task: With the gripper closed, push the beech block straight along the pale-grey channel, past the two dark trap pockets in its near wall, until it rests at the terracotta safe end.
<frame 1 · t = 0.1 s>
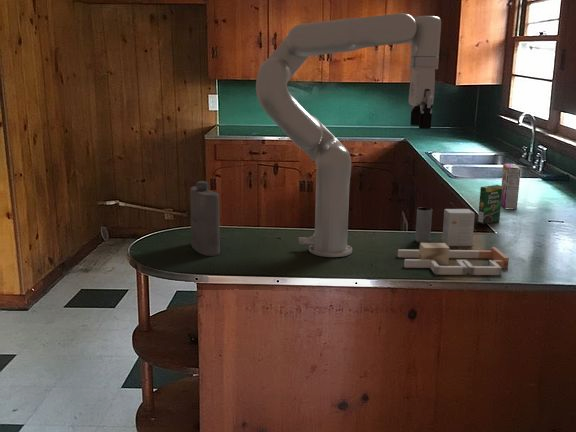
hand: (420, 126, 172), 37 cm above the worktop, tool pointing down, fingers open, 9 cm apart
small box: (456, 244, 191), on the worktop
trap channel: (451, 262, 172), on the worktop
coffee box: (488, 222, 219), on the worktop
beech block: (433, 262, 172), resting in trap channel
flask: (204, 249, 181), on the worktop
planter: (422, 241, 194), on the worktop
candy bar box: (507, 207, 245), on the worktop
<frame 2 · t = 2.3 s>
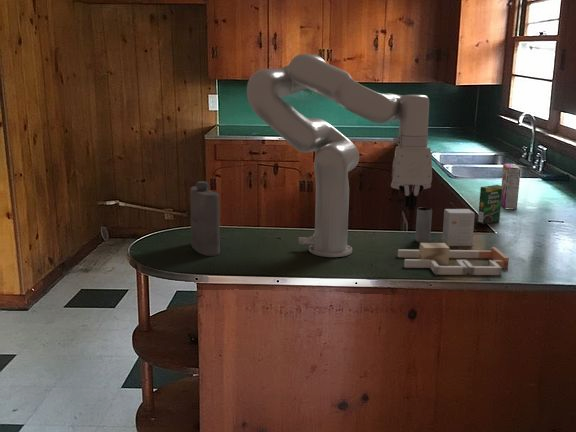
hand: (409, 209, 168), 15 cm above the worktop, tool pointing down, fingers closed
nothing on the worktop moved.
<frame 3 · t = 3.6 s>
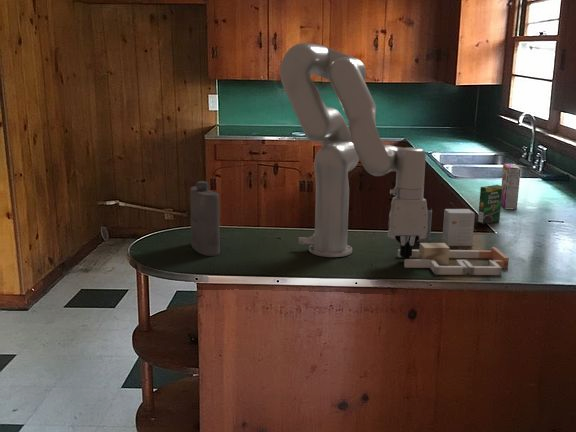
hand: (405, 258, 172), 1 cm above the worktop, tool pointing down, fingers closed
nothing on the worktop moved.
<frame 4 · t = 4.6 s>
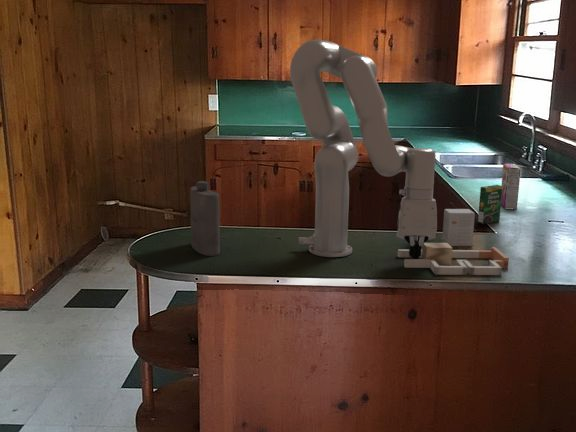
hand: (414, 258, 172), 1 cm above the worktop, tool pointing down, fingers closed
beech block: (436, 262, 172), resting in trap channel, touching gripper
everything else where it was.
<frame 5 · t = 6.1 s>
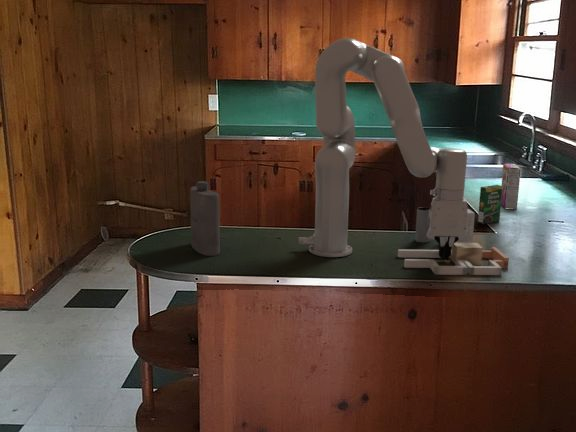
hand: (444, 258, 172), 1 cm above the worktop, tool pointing down, fingers closed
beech block: (465, 262, 172), resting in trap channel, touching gripper
everything else where it was.
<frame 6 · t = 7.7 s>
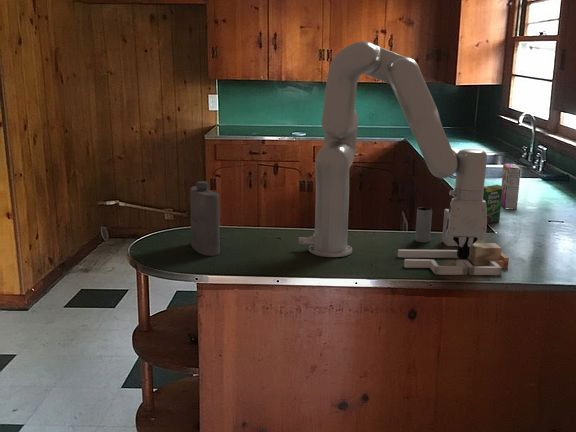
hand: (462, 259, 172), 1 cm above the worktop, tool pointing down, fingers closed
beech block: (484, 262, 172), resting in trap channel, touching gripper
everything else where it was.
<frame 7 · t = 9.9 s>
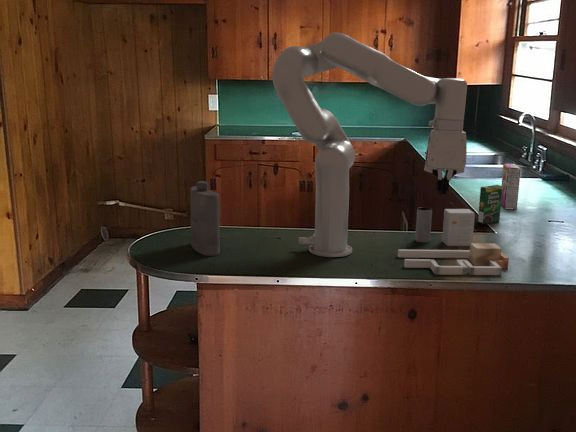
hand: (441, 193, 168), 19 cm above the worktop, tool pointing down, fingers closed
beech block: (484, 263, 172), resting in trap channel
everything else where it was.
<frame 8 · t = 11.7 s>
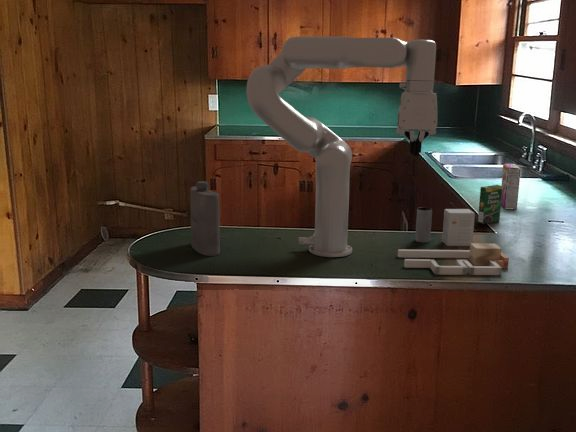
hand: (414, 155, 170), 29 cm above the worktop, tool pointing down, fingers closed
nothing on the worktop moved.
at the end: beech block inside the target area on the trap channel (0.9 cm from its centre), point 0.0 cm above the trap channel's base; beech block tilted 0° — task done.
